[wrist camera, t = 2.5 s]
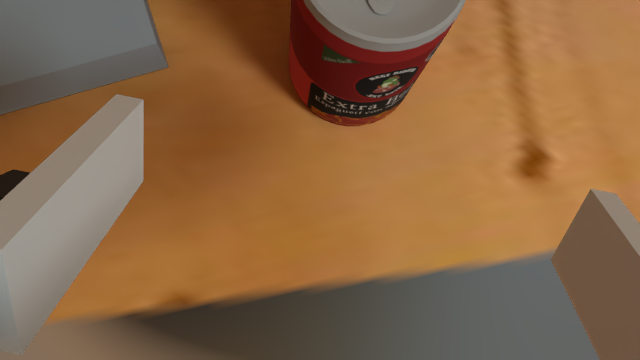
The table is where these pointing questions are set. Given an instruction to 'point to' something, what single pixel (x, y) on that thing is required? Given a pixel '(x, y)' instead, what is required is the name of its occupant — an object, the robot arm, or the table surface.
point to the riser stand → (72, 47)
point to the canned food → (363, 53)
